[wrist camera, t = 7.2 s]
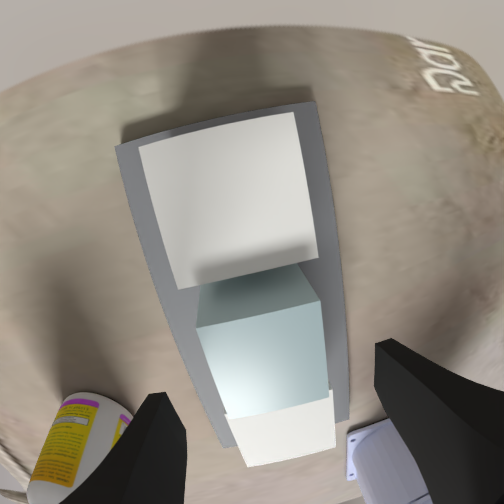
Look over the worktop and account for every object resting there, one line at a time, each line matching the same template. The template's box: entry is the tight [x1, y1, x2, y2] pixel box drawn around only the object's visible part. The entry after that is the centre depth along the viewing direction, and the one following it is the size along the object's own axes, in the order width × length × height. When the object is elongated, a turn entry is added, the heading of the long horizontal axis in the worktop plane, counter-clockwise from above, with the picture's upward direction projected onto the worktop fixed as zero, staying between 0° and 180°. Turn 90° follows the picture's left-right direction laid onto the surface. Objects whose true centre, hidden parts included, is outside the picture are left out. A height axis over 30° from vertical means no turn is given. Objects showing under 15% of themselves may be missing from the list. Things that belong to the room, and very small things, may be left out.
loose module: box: [196, 263, 329, 420], centre depth 13 cm, size 4×4×6 cm
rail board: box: [115, 101, 349, 467], centre depth 16 cm, size 22×10×6 cm, turn 12°
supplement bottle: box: [27, 392, 133, 504], centre depth 15 cm, size 7×7×13 cm
